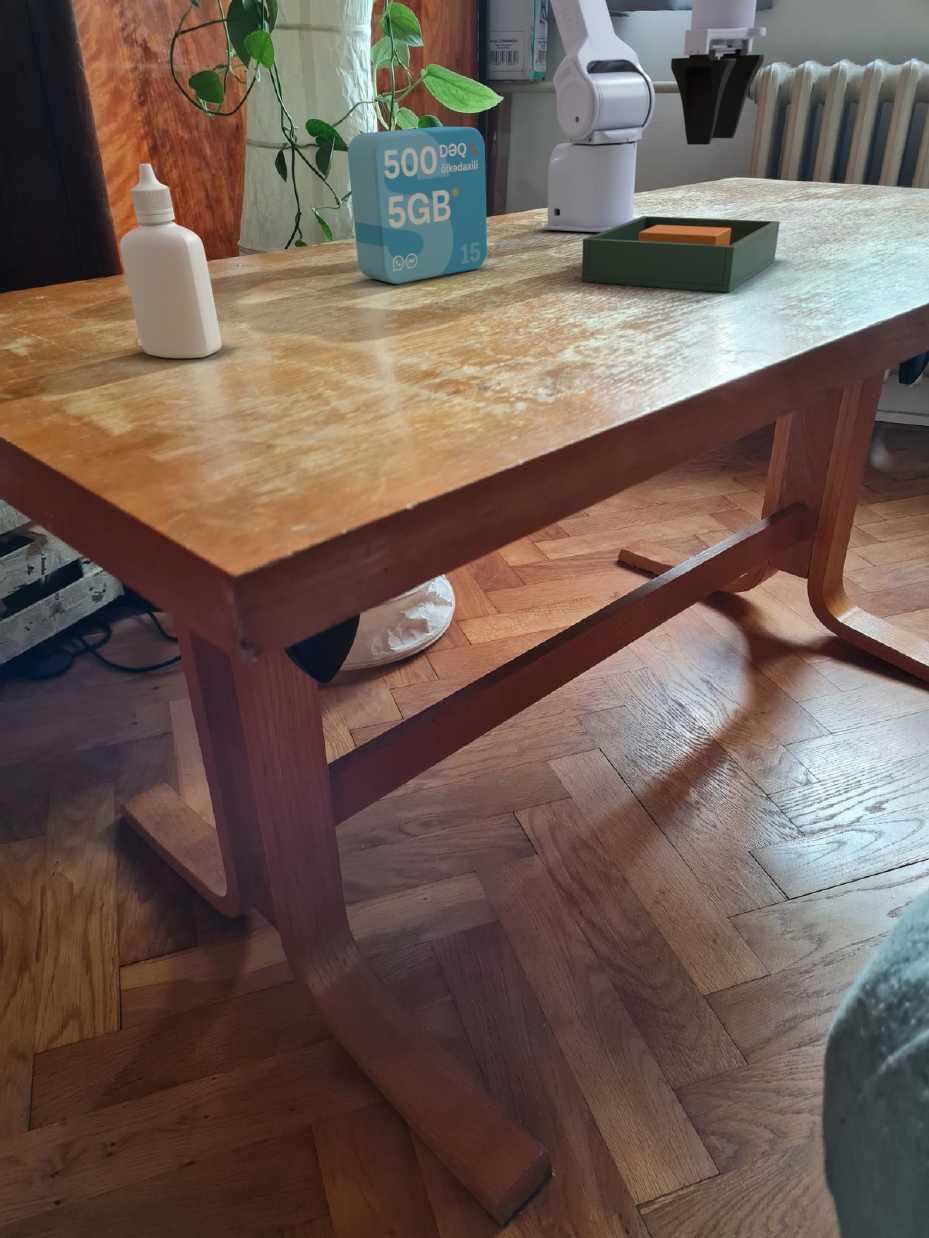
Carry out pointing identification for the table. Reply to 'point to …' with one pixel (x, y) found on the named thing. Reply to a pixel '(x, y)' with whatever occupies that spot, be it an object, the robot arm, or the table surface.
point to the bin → (679, 255)
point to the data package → (418, 202)
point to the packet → (687, 235)
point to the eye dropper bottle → (168, 277)
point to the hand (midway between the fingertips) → (711, 141)
